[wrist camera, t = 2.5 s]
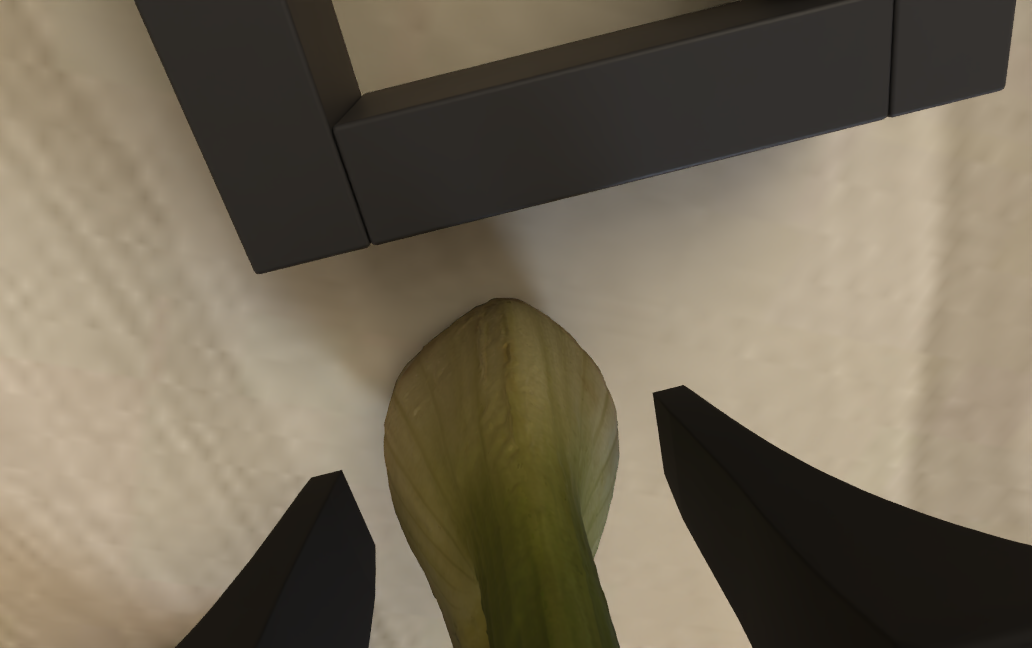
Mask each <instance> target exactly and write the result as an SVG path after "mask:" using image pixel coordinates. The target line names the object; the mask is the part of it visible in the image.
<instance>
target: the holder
mask: <svg viewBox="0 0 1032 648" xmlns="http://www.w3.org/2000/svg"><path fill="white" fill-rule="evenodd" d="M134 1H135V4H136V6H137V8H138V10H139V13H140V15H141V17H142V19H143V22H144V24H145V26H146V28H147V31H148V33H149V35H150V38H151V40H152V42H153V44H154V47H155V49H156V51H157V53H158V56H159V58H160V60H161V62H162V65H163V67H164V69H165V71H166V74H167V76H168V78H169V80H170V83H171V85H172V87H173V89H174V92H175V94H176V96H177V98H178V101H179V103H180V105H181V107H182V110H183V112H184V114H185V116H186V119H187V121H188V123H189V125H190V128H191V130H192V132H193V134H194V137H195V139H196V141H197V143H198V146H199V148H200V150H201V152H202V155H203V157H204V159H205V161H206V164H207V166H208V168H209V170H210V173H211V175H212V177H213V179H214V182H215V184H216V186H217V188H218V191H219V193H220V195H221V198H222V200H223V202H224V204H225V207H226V209H227V211H228V213H229V216H230V218H231V220H232V222H233V225H234V227H235V229H236V231H237V234H238V236H239V238H240V240H241V243H242V245H243V247H244V249H245V252H246V254H247V256H248V258H249V261H250V263H251V265H252V267H253V270H254V271H255V273H256V274H263V273H267V272H271V271H275V270H279V269H283V268H287V267H291V266H295V265H299V264H303V263H307V262H311V261H315V260H319V259H323V258H327V257H331V256H335V255H339V254H343V253H347V252H351V251H355V250H359V249H363V248H367V247H368V246H370V243H372V244H373V245H379V244H383V243H387V242H391V241H395V240H400V239H404V238H408V237H412V236H416V235H420V234H424V233H428V232H432V231H436V230H440V229H444V228H448V227H452V226H456V225H460V224H464V223H468V222H472V221H476V220H480V219H484V218H488V217H492V216H496V215H500V214H504V213H508V212H512V211H516V210H520V209H524V208H528V207H532V206H536V205H541V204H545V203H549V202H553V201H557V200H561V199H565V198H569V197H573V196H577V195H581V194H585V193H589V192H593V191H597V190H601V189H605V188H609V187H613V186H617V185H621V184H625V183H629V182H633V181H637V180H641V179H645V178H649V177H653V176H657V175H661V174H665V173H669V172H673V171H677V170H681V169H686V168H690V167H694V166H698V165H702V164H706V163H710V162H714V161H718V160H722V159H726V158H730V157H734V156H738V155H742V154H746V153H750V152H754V151H758V150H762V149H766V148H770V147H774V146H778V145H782V144H786V143H790V142H794V141H798V140H802V139H806V138H810V137H814V136H818V135H822V134H827V133H831V132H835V131H839V130H843V129H847V128H851V127H855V126H859V125H863V124H867V123H871V122H875V121H879V120H882V119H885V118H886V117H896V116H900V115H904V114H908V113H912V112H916V111H920V110H924V109H928V108H932V107H936V106H940V105H944V104H948V103H952V102H956V101H960V100H964V99H968V98H972V97H976V96H981V95H985V94H989V93H993V92H997V91H1000V90H1002V89H1004V87H1005V84H1006V76H1007V68H1008V60H1009V52H1010V45H1011V37H1012V29H1013V21H1014V14H1015V6H1016V0H741V1H736V2H732V3H728V4H724V5H720V6H716V7H712V8H708V9H704V10H700V11H696V12H692V13H688V14H684V15H680V16H676V17H672V18H668V19H664V20H660V21H656V22H652V23H648V24H644V25H640V26H636V27H632V28H628V29H624V30H620V31H616V32H612V33H607V34H603V35H599V36H595V37H591V38H587V39H583V40H579V41H575V42H571V43H567V44H563V45H559V46H555V47H551V48H547V49H543V50H539V51H535V52H531V53H527V54H523V55H519V56H515V57H511V58H507V59H503V60H499V61H495V62H491V63H487V64H483V65H478V66H474V67H470V68H466V69H462V70H458V71H454V72H450V73H446V74H442V75H438V76H434V77H430V78H426V79H422V80H418V81H414V82H410V83H406V84H402V85H398V86H394V87H390V88H386V89H382V90H378V91H374V92H370V93H366V94H364V95H363V96H361V93H360V90H359V87H358V83H357V80H356V77H355V74H354V71H353V68H352V64H351V61H350V58H349V55H348V52H347V49H346V45H345V42H344V39H343V36H342V33H341V30H340V26H339V23H338V20H337V17H336V14H335V11H334V7H333V4H332V1H331V0H134Z"/></svg>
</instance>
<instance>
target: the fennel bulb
mask: <svg viewBox="0 0 1032 648" xmlns="http://www.w3.org/2000/svg"><path fill="white" fill-rule="evenodd" d="M617 426H618V422H617V414H616V408H615V405H614V402H613V399H612V397H611V394H610V392H609V390H608V388H607V386H606V384H605V380H604V378H603V376H602V374H601V372H600V370H599V368H598V366H597V365H596V364H595V363H594V361H593V360H592V358H591V357H590V356H589V355H588V354H587V353H586V352H585V351H584V350H583V349H582V348H581V347H580V346H579V344H578V343H577V342H576V340H575V339H574V338H573V337H572V336H571V335H570V334H569V333H568V332H567V331H566V330H565V329H564V328H562V327H561V326H560V325H558V324H557V323H556V322H554V321H553V320H552V319H551V318H549V317H548V316H547V315H545V314H544V313H542V312H540V311H539V310H537V309H535V308H533V307H532V306H530V305H528V304H527V303H525V302H523V301H520V300H518V299H515V298H494V299H491V300H490V301H489V302H487V303H485V304H482V305H479V306H477V307H475V308H474V309H472V310H471V311H470V312H468V313H467V314H465V315H463V316H462V317H460V318H459V319H457V320H456V321H455V322H454V323H453V324H452V325H451V326H450V327H449V328H447V329H446V330H444V331H443V332H441V333H440V334H439V335H438V336H436V337H435V338H434V339H433V340H431V341H430V342H429V343H428V344H426V345H425V346H424V347H423V349H422V351H421V352H419V353H418V354H417V355H416V356H415V357H414V358H413V359H412V360H411V361H410V362H409V363H408V364H407V365H406V366H405V368H404V369H403V371H402V372H401V374H400V375H399V377H398V379H397V381H396V384H395V387H394V391H393V394H392V397H391V401H390V404H389V408H388V412H387V416H386V419H385V423H384V427H385V435H384V457H385V463H386V467H387V475H388V482H389V488H390V492H391V497H392V502H393V505H394V509H395V513H396V515H397V517H398V520H399V522H400V525H401V528H402V530H403V532H404V535H405V537H406V539H407V542H408V544H409V546H410V548H411V550H412V552H413V553H414V555H415V557H416V558H417V560H418V562H419V564H420V566H421V568H422V569H423V571H424V573H425V575H426V577H427V580H428V582H429V585H430V587H431V590H432V593H433V595H434V597H435V598H436V599H437V602H438V605H439V607H440V609H441V611H442V614H443V618H444V621H445V623H446V626H447V629H448V632H449V635H450V638H451V641H452V645H453V648H620V646H619V643H618V640H617V636H616V632H615V629H614V626H613V623H612V620H611V617H610V613H609V609H608V605H607V601H606V598H605V595H604V592H603V590H602V588H601V585H600V581H599V578H598V573H597V569H596V565H595V563H594V560H593V559H594V556H595V554H596V551H597V549H598V546H599V542H600V539H601V535H602V532H603V529H604V526H605V523H606V519H607V515H608V511H609V507H610V503H611V500H612V497H613V490H614V484H615V479H616V472H617V468H618V461H619V440H618V428H617Z"/></svg>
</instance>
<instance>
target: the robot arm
mask: <svg viewBox="0 0 1032 648" xmlns="http://www.w3.org/2000/svg"><path fill="white" fill-rule="evenodd" d="M653 398H654V405H655V412H656V419H657V426H658V433H659V440H660V447H661V454H662V461H663V468H664V474H665V477H666V479H667V482H668V484H669V487H670V489H671V492H672V494H673V497H674V499H675V501H676V504H677V506H678V509H679V511H680V513H681V516H682V518H683V520H684V522H685V524H686V526H687V528H688V529H689V531H690V533H691V535H692V537H693V539H694V540H695V542H696V544H697V546H698V548H699V549H700V551H701V553H702V555H703V557H704V558H705V560H706V562H707V564H708V566H709V567H710V569H711V571H712V573H713V575H714V576H715V578H716V580H717V582H718V583H719V585H720V587H721V589H722V591H723V592H724V594H725V596H726V598H727V600H728V601H729V603H730V605H731V607H732V609H733V610H734V612H735V614H736V616H737V617H738V619H739V621H740V623H741V625H742V627H743V629H744V631H745V633H746V635H747V637H748V639H749V641H750V643H751V645H752V648H1032V546H1031V545H1027V544H1023V543H1019V542H1015V541H1011V540H1007V539H1003V538H1000V537H996V536H993V535H990V534H986V533H983V532H980V531H976V530H973V529H969V528H966V527H963V526H959V525H956V524H953V523H950V522H947V521H944V520H941V519H938V518H935V517H932V516H929V515H926V514H923V513H920V512H918V511H915V510H912V509H910V508H907V507H904V506H902V505H899V504H896V503H893V502H891V501H888V500H885V499H883V498H880V497H878V496H876V495H873V494H871V493H868V492H866V491H863V490H861V489H859V488H857V487H855V486H852V485H850V484H848V483H846V482H844V481H841V480H839V479H837V478H835V477H833V476H830V475H828V474H826V473H824V472H822V471H820V470H818V469H816V468H814V467H812V466H810V465H808V464H806V463H804V462H803V461H801V460H799V459H797V458H795V457H794V456H792V455H790V454H788V453H786V452H784V451H783V450H781V449H779V448H778V447H776V446H774V445H773V444H771V443H769V442H768V441H766V440H764V439H763V438H761V437H760V436H758V435H757V434H755V433H753V432H752V431H750V430H749V429H747V428H745V427H744V426H742V425H741V424H739V423H738V422H736V421H735V420H733V419H732V418H730V417H729V416H727V415H726V414H724V413H723V412H722V411H720V410H719V409H717V408H716V407H714V406H713V405H712V404H710V403H709V402H707V401H706V400H704V399H703V398H702V397H700V396H699V395H697V394H696V393H695V392H693V391H692V390H690V389H689V388H687V387H686V386H684V385H682V386H678V387H674V388H670V389H666V390H662V391H658V392H654V393H653ZM375 577H376V562H375V544H374V541H373V539H372V537H371V535H370V532H369V530H368V528H367V526H366V523H365V521H364V519H363V517H362V514H361V512H360V510H359V508H358V505H357V503H356V501H355V499H354V496H353V494H352V492H351V490H350V487H349V485H348V483H347V481H346V478H345V476H344V474H343V472H342V470H340V471H336V472H332V473H328V474H324V475H320V476H316V477H312V478H311V479H310V480H309V481H308V482H307V484H306V485H305V486H304V488H303V489H302V490H301V492H300V493H299V494H298V496H297V497H296V498H295V500H294V501H293V503H292V504H291V505H290V507H289V508H288V510H287V511H286V512H285V514H284V515H283V516H282V518H281V519H280V521H279V522H278V523H277V525H276V526H275V527H274V529H273V530H272V531H271V533H270V534H269V536H268V537H267V538H266V540H265V541H264V542H263V544H262V545H261V546H260V548H259V549H258V550H257V552H256V553H255V554H254V556H253V557H252V558H251V560H250V561H249V562H248V564H247V565H246V566H245V567H244V568H243V570H242V571H241V572H240V573H239V575H238V576H237V577H236V578H235V580H234V581H233V582H232V583H231V584H230V586H229V587H228V588H227V589H226V591H225V592H224V593H223V594H222V596H221V597H220V598H219V599H218V601H217V602H216V603H215V604H214V605H213V607H212V608H211V609H210V610H209V611H208V612H207V614H206V615H205V616H204V617H203V618H202V619H201V620H200V621H199V623H198V624H197V625H196V626H195V627H194V628H193V629H192V630H191V631H190V633H189V634H188V635H187V636H186V637H185V638H184V639H183V640H182V641H181V642H180V643H179V644H178V645H177V646H176V647H175V648H368V647H369V639H370V632H371V624H372V617H373V609H374V601H375Z"/></svg>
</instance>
